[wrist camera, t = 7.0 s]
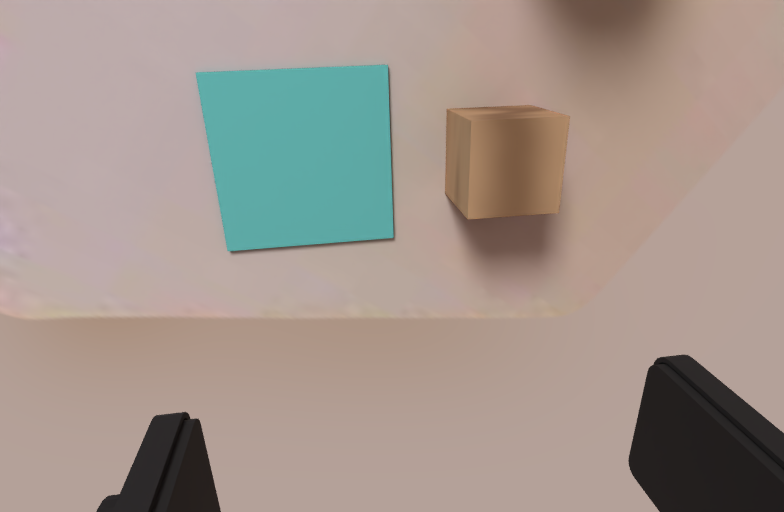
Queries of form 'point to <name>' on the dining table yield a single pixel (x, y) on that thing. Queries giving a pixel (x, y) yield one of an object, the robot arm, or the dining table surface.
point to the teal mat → (300, 154)
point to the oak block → (505, 160)
